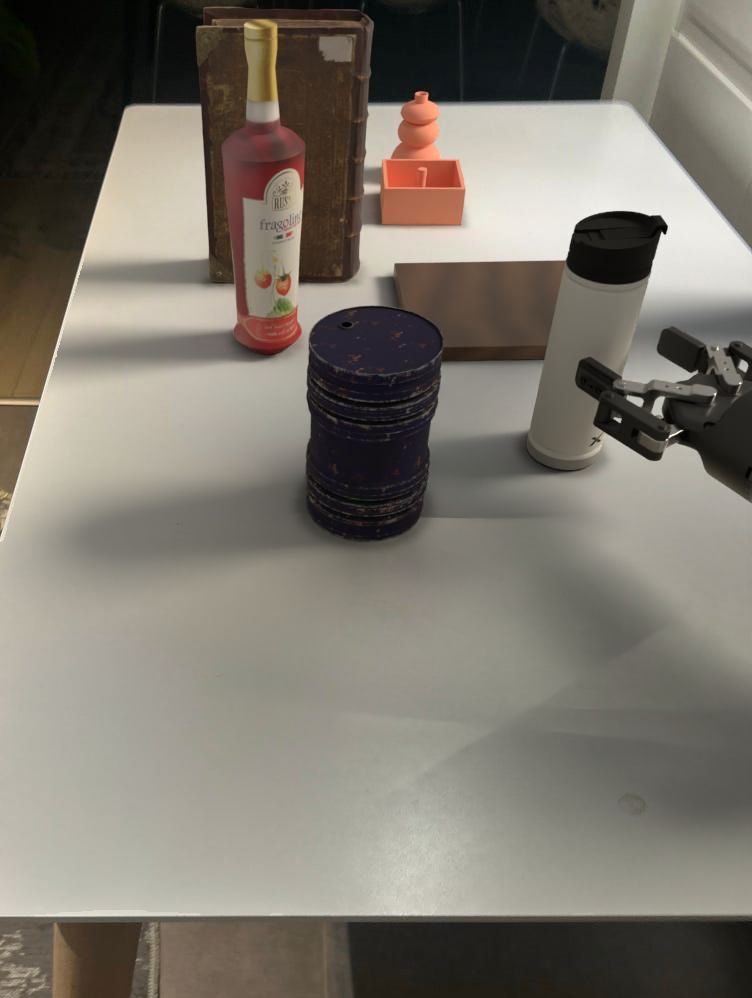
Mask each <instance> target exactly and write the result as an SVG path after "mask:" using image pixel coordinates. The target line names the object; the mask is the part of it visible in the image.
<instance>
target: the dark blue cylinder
mask: <svg viewBox="0 0 752 998" xmlns="http://www.w3.org/2000/svg"><path fill="white" fill-rule="evenodd" d="M443 347H444V338H443V335H442V332H441V331H440V330H439V328H438V327H437V326H436V325H435V324H434V323H433V322H431V321H430V320H429V319H427V318H425V317H423V316H421V315H419V314H417V313H414V312H412V311H408V310H405V309H401V308H400V307H395V306H387V305H358V306H352V307H346V308H343V309H339V310H336V311H333V312H331V313H329V314H327V315H325V316H323V317H322V318H320V319H319V320H317V322H316V323H315V324H314V325H313V326H312V327H311V328H310V331H309V333H308V361H307V363H308V364H307V367H306V388H307V390H306V403H307V409H308V412H309V414H310V425H309V427H310V428H309V429H310V433H309V434H310V435H309V436H310V437H309V439H308V442H307V445H306V451H305V468H304V469H305V474H304V475H305V477H304V478H305V484H306V498H305V500H306V501H305V502H306V503H305V504H306V510H307V512H308V514H309V517H310V518H311V520H312V521H313V522H314V523H315V524H316V525H317V526H318V527H319V528H320V529H322V530H324V531H325V532H327V533H328V534H330V535H332V536H335V537H337V538H341V539H344V540H347V541H348V540H349V541H353V542H363V543H365V542H367V543H368V542H369V543H370V542H381V541H386V540H390V539H394V538H397V537H399V536H401V535H404V534H405V533H406V532H408V531H410V530H411V529H412V528H414V526H416V524H417V523H418V522H419V520H420V519H421V516H422V514H423V510H424V498H425V495H426V490H427V487H428V481H429V475H430V466H431V449H430V447H429V446H430V445H429V439H430V431H431V425H432V424H431V423H432V420H433V419H434V417H435V415H436V410H437V408H438V405H439V393H440V390H441V389H440V388H441V383H442V382H441V381H442V370H441V368H442V363H443V361H441V358H442V354H443Z"/></svg>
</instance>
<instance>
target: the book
mask: <svg viewBox="0 0 752 998" xmlns="http://www.w3.org/2000/svg"><path fill="white" fill-rule="evenodd" d="M202 9H203V10H202V19H203V25H197V26H196V27H195V49H196V62H197V67H198V74H199V75H198V76H199V79H198V80H199V92H200V94H199V95H200V110H201V126H202V127H201V128H202V129H201V130H202V132H201V134H202V146H203V161H204V162H203V163H204V164H203V165H204V180H205V181H204V182H205V202H206V203H205V204H206V220H207V221H206V223H207V240H208V270H209V273H208V274H209V280H210V282H214V283H215V282H218V283H235V281H234V270H233V258H232V247H231V238H230V230H229V221H228V212H227V203H226V191H225V179H224V168H223V158H222V147H221V146H222V144H223V142H224V141H225V140H226V139H227V138H228V137H229V136H230V135H231V134H232V133H233V132H235V131H236V130H238V129H240V128H242V127H245V126H246V108H247V89H248V70H249V67H248V62H247V57H246V51H245V38H244V24H245V23H246V22H248V21H252V20H272V21H275V22H276V23H277V45H278V48H277V56H276V64H275V71H276V82H277V94H278V105H279V116H280V125H281V126H284V127H286V128H289V129H291V130H292V131H293V132H295V133H296V134H297V135H298V136H299V137H300V138H301V139H302V140H303V141H304V142H305V163H304V187H303V208H302V223H301V237H300V254H299V278H298V281H308V282H316V283H344V282H345V281H347V280H351V279H352V278H354V277H355V276H356V275H358V272H359V270H360V267H361V261H360V241H361V232H362V228H363V222H362V209H363V196H364V193H365V187H364V173H365V171H364V170H365V159H366V156H367V149H366V143H367V142H366V141H367V140H366V139H367V126H368V119H369V116H370V113H369V110H368V107H369V88H370V87H369V86H370V85H369V84H370V78H371V76H372V69H371V55H372V44H373V35H374V27H375V22H374V21H373V20H372V19H371V18H370V17H369V15H367V14H366V13H363V12H362V11H360V10H359V9H349V8H348V9H345V8H344V9H341V8H340V9H338V8H337V9H335V8H334V9H330V8H324V9H323V8H322V9H297V8H296V9H295V8H294V9H293V8H248V7H241V6H207V7H203V8H202Z"/></svg>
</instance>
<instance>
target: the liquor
mask: <svg viewBox="0 0 752 998" xmlns="http://www.w3.org/2000/svg"><path fill="white" fill-rule="evenodd" d="M244 38H245V51H246V57H247V62H248V67H249V70H248V89H247V108H246V126H245V127H242V128H240V129H238V130H236V131H235V132H233V133H232V134H231V135H230V136H229V137H228V138H227V139H226V140H225V141H224V142H223V144H222V146H221V147H222V158H223V168H224V179H225V191H226V203H227V212H228V221H229V230H230V238H231V247H232V258H233V270H234V281H235V282H234V291H235V304H236V306H235V307H236V320H237V322H236V324H235V326H233V327H234V328H233V336H234V338H235V339H236V340H237V341H238V342H239V343H240V344H242V345H243V346H244V347H245V348H248V349H249V350H250V351H252V352H254V353H257V354H261V355H262V354H263V355H273V354H278V353H281V352H283V351H285V350H287V349H288V348H289V347H290V346H292V344H294V343H295V342H296V341H297V340H299V338H300V337H301V335H302V332H303V329H302V326H301V324H300V322H299V321H298V309H299V308H298V307H299V304H298V303H299V280H298V278H299V254H300V237H301V223H302V208H303V187H304V163H305V142H304V141H303V140H302V139H301V138H300V137H299V136H298V135H297V134H296V133H295V132H293V131H292V130H291V129H289V128H286V127H284V126H281V125H280V116H279V105H278V94H277V82H276V71H275V64H276V56H277V48H278V45H277V23H276V22H275V21H272V20H252V21H248V22H246V23H245V24H244Z"/></svg>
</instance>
